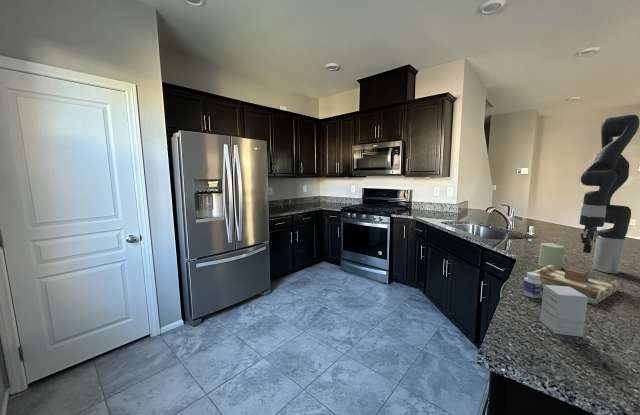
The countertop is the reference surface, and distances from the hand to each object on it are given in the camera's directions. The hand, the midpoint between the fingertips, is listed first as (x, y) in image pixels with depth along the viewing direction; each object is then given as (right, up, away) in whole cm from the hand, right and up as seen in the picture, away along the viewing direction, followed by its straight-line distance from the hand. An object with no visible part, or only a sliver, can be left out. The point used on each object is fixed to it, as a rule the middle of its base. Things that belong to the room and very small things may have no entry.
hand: (586, 252), depth 115 cm
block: (-8, -11, -3) cm, 14 cm away
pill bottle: (-37, -15, -14) cm, 43 cm away
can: (0, -11, +18) cm, 21 cm away
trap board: (-13, -13, -6) cm, 20 cm away
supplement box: (-47, -17, -36) cm, 62 cm away
